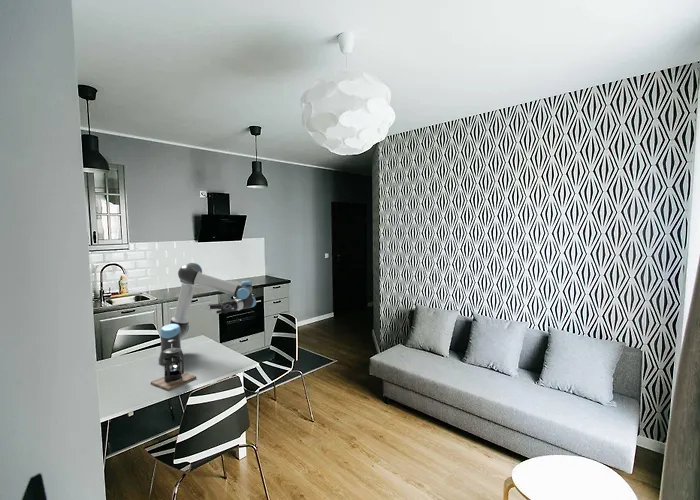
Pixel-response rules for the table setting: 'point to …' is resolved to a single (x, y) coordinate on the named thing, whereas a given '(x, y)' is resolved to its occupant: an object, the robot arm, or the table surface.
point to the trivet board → (170, 385)
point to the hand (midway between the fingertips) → (205, 311)
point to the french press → (172, 371)
